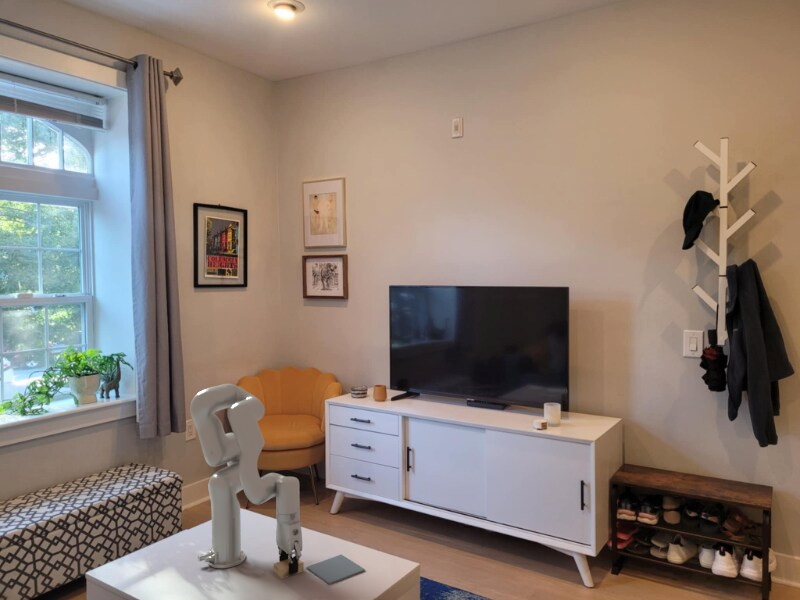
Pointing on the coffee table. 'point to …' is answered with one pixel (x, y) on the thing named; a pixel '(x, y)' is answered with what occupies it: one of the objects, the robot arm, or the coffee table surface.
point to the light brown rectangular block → (286, 568)
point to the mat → (335, 569)
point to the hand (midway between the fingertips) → (288, 569)
